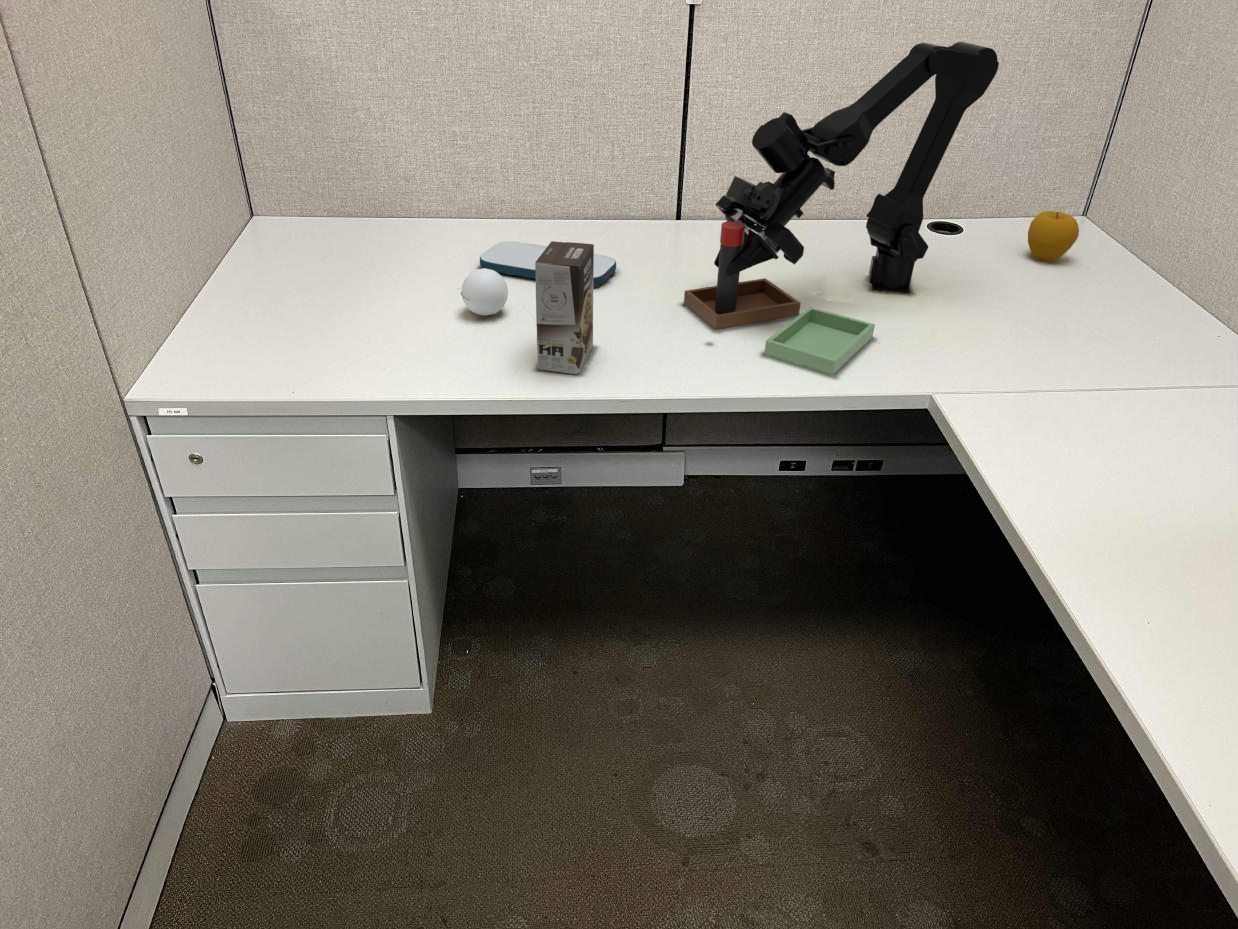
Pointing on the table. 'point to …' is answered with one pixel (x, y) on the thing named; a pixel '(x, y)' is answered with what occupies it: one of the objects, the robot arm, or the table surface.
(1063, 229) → the apple
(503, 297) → the white rounded piece
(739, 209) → the robot arm
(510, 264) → the blue white rounded slab
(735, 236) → the thermos
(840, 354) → the green tray
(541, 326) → the coffee box
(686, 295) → the walnut tray
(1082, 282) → the table surface
